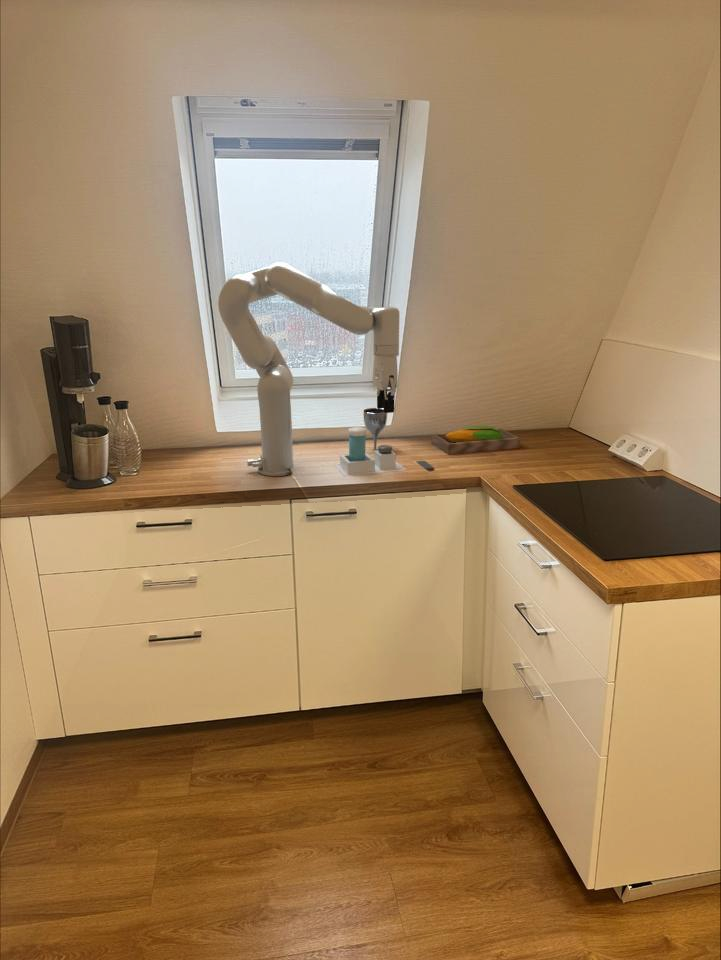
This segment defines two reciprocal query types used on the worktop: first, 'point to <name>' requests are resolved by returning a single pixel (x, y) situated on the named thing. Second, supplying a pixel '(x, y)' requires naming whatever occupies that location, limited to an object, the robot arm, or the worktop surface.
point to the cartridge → (356, 444)
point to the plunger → (385, 449)
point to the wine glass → (375, 422)
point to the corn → (474, 434)
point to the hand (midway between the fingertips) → (385, 409)
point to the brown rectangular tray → (476, 443)
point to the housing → (369, 464)
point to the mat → (425, 465)
